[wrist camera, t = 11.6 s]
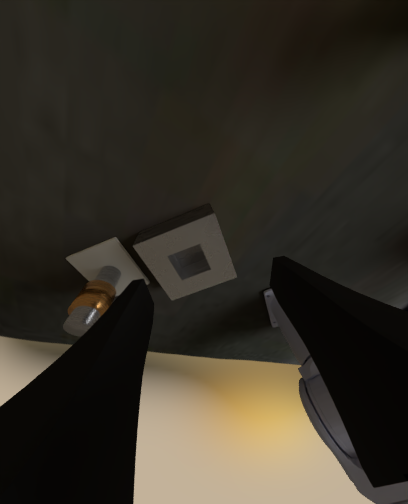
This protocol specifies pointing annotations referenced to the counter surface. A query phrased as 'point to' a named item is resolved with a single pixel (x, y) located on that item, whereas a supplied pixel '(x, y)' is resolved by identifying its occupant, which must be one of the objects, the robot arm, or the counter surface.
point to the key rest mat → (107, 262)
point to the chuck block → (186, 252)
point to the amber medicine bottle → (92, 301)
